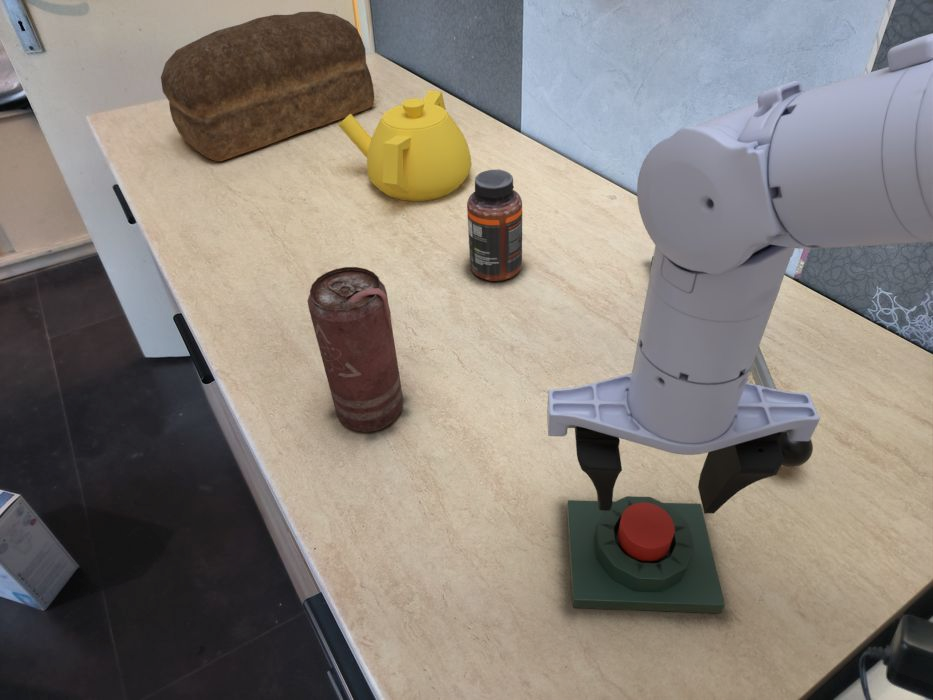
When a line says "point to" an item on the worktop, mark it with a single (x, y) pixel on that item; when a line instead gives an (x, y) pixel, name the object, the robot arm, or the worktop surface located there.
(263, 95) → the bread
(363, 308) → the can
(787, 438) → the grey lever handle
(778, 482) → the worktop surface
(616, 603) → the button box
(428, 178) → the teapot
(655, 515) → the button
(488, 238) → the supplement bottle
